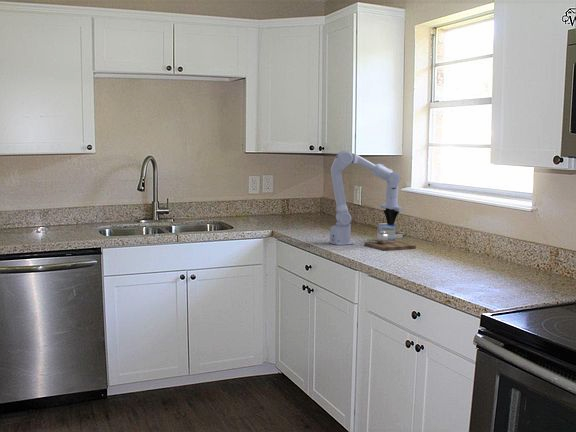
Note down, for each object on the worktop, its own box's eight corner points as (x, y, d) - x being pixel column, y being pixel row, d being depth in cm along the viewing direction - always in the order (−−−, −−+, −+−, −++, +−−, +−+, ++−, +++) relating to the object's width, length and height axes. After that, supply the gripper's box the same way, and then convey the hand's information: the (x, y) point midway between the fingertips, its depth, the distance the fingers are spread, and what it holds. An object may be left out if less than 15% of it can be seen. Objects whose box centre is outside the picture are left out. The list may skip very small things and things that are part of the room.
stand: (384, 250, 300) (385, 247, 300) (364, 245, 314) (364, 241, 314) (415, 248, 309) (415, 245, 309) (394, 243, 323) (394, 239, 323)
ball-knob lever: (381, 244, 308) (381, 232, 308) (374, 242, 313) (375, 231, 312) (407, 242, 316) (407, 230, 315) (400, 240, 320) (401, 229, 319)
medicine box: (380, 241, 327) (381, 224, 326) (376, 240, 331) (377, 222, 330) (394, 241, 329) (395, 224, 328) (391, 239, 333) (392, 222, 332)
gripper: (408, 198, 312) (406, 226, 314) (389, 195, 325) (387, 222, 327) (396, 198, 309) (395, 227, 311) (377, 195, 322) (376, 223, 323)
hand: (390, 224), depth 318 cm, fingers closed
